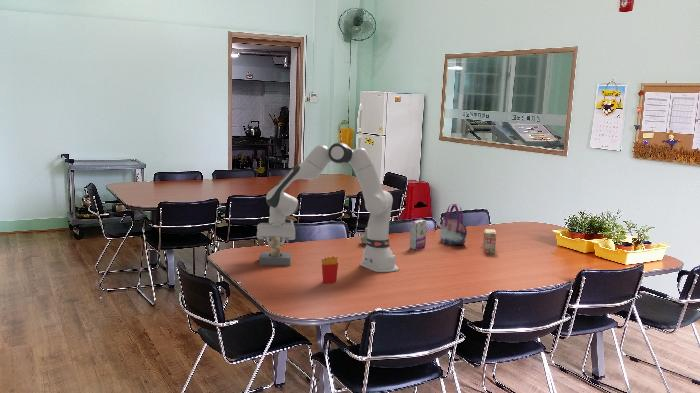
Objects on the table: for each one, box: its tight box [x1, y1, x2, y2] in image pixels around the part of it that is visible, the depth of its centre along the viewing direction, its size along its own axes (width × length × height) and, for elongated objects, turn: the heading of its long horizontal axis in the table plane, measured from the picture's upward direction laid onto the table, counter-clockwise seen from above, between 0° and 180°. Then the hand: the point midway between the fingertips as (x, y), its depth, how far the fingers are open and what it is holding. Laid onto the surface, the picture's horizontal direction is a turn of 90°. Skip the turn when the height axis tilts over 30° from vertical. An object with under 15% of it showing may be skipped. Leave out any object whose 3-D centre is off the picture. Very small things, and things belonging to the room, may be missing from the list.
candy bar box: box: [409, 219, 427, 250], centre depth 354 cm, size 11×5×16 cm, turn 143°
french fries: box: [321, 256, 339, 284], centre depth 277 cm, size 8×4×12 cm, turn 124°
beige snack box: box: [482, 228, 497, 254], centre depth 358 cm, size 21×6×12 cm, turn 169°
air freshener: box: [360, 226, 368, 246], centre depth 359 cm, size 11×8×10 cm
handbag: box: [439, 203, 468, 246], centre depth 369 cm, size 21×10×25 cm, turn 37°
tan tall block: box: [270, 237, 281, 256], centre depth 308 cm, size 4×4×10 cm
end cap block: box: [258, 251, 292, 267], centre depth 309 cm, size 16×12×4 cm
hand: (275, 245), depth 307 cm, fingers closed on tan tall block, 4 cm apart
